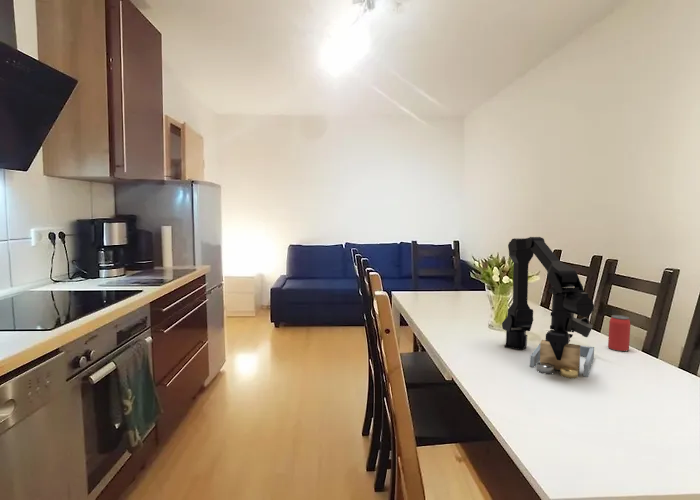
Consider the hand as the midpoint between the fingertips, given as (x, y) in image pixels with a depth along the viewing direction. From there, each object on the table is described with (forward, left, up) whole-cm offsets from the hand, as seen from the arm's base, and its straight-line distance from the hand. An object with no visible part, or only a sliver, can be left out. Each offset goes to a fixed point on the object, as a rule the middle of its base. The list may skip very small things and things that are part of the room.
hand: (559, 358), depth 143 cm
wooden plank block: (0, +1, -3) cm, 3 cm away
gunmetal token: (-3, -4, -4) cm, 6 cm away
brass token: (+3, -4, -4) cm, 6 cm away
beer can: (+15, +36, -4) cm, 39 cm away
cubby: (0, +9, -4) cm, 10 cm away
